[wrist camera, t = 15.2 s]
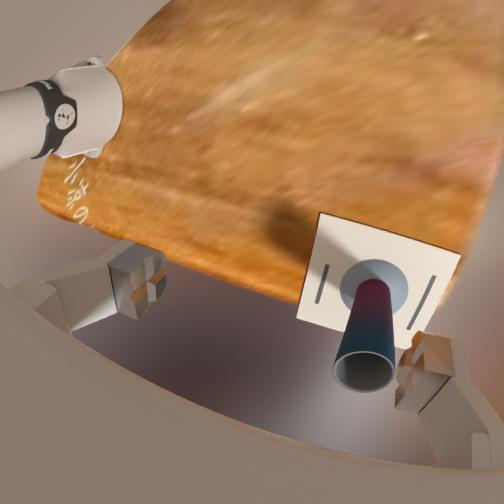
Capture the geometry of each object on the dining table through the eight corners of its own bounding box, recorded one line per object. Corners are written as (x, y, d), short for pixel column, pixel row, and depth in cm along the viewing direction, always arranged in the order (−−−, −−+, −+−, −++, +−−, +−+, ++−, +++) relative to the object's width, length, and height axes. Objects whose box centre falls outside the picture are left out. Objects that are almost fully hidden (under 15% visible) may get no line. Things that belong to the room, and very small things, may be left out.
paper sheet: (296, 316, 49) (295, 318, 48) (321, 212, 39) (320, 213, 39) (411, 349, 43) (411, 351, 43) (460, 254, 34) (460, 255, 34)
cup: (393, 269, 38) (393, 348, 26) (399, 309, 41) (396, 391, 28) (345, 276, 42) (326, 353, 29) (354, 315, 44) (338, 394, 32)
